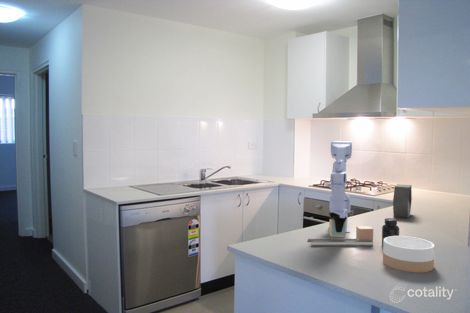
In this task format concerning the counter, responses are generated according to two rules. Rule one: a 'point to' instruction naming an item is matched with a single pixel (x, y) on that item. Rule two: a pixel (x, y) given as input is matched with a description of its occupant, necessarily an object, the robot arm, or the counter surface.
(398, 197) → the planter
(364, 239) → the faced tea box
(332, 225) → the box
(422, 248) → the bowl
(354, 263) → the counter surface
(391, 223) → the supplement bottle
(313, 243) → the pair of grey rails
